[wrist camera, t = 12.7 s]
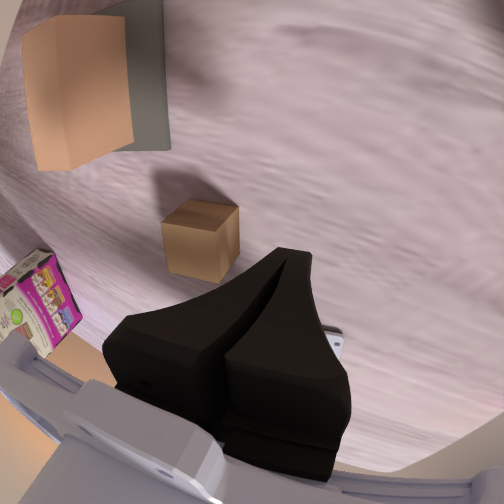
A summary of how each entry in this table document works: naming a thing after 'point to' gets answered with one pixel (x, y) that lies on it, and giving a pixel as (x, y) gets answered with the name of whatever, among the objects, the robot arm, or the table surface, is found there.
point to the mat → (145, 73)
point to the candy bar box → (37, 302)
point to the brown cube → (202, 239)
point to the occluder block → (76, 89)
